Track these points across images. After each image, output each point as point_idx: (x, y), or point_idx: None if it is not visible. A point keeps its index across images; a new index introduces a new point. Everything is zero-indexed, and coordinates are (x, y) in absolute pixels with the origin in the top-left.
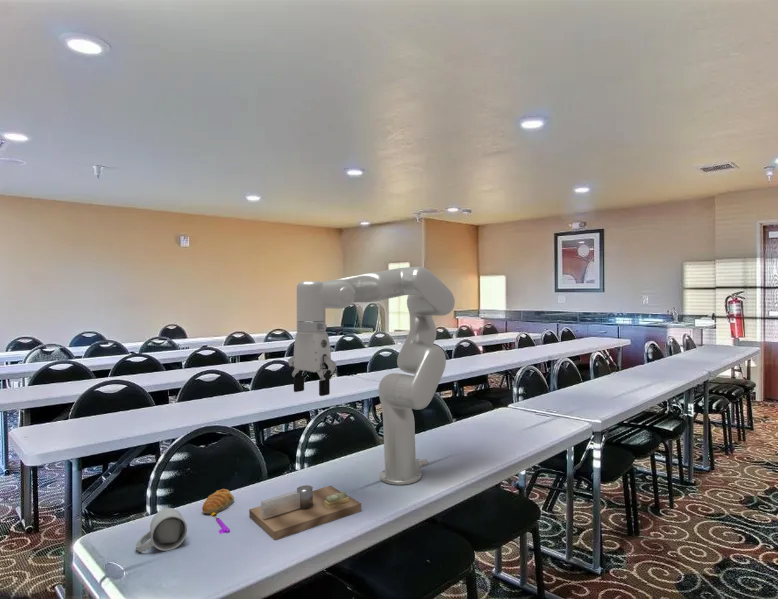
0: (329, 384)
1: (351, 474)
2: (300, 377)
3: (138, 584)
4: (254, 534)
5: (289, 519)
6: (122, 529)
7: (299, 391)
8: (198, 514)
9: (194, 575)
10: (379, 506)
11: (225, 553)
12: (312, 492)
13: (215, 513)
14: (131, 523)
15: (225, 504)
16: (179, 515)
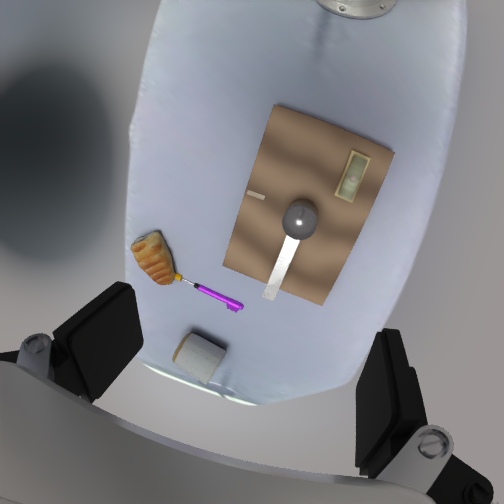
0: (412, 380)
1: (244, 15)
2: (83, 367)
3: (259, 396)
4: (281, 297)
5: (314, 266)
6: None
7: (136, 314)
8: None
9: (294, 377)
10: (409, 119)
11: (287, 342)
12: (314, 213)
13: (179, 277)
14: None
15: (169, 258)
16: (206, 367)
